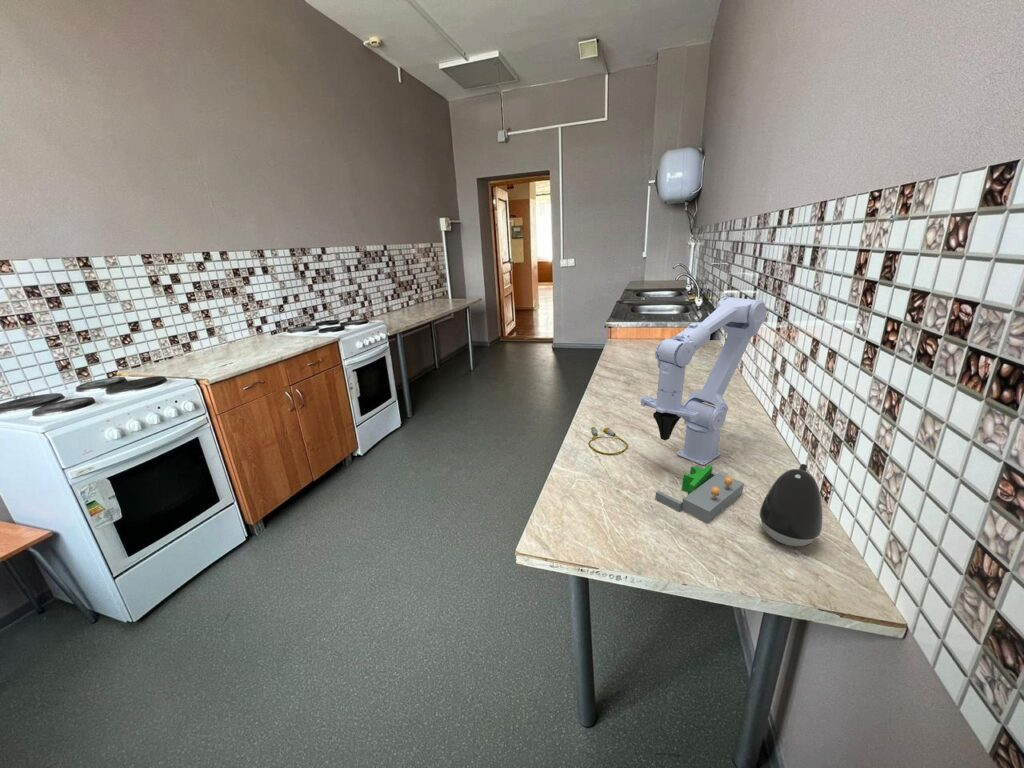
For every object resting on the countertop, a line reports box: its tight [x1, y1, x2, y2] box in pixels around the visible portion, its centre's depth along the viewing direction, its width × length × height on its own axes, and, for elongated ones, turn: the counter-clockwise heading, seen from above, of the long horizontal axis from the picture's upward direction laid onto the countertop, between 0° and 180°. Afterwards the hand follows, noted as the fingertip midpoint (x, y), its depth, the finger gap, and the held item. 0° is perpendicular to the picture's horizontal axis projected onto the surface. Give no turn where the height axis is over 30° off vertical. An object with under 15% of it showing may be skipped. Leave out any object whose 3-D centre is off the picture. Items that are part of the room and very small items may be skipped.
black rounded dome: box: [759, 463, 824, 547], centre depth 79 cm, size 10×10×15 cm
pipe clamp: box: [681, 464, 713, 495], centre depth 98 cm, size 11×4×5 cm, turn 135°
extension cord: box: [588, 426, 629, 456], centre depth 122 cm, size 12×16×2 cm
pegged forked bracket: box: [654, 464, 745, 524], centre depth 94 cm, size 18×12×6 cm, turn 128°
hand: (665, 438), depth 103 cm, fingers closed
